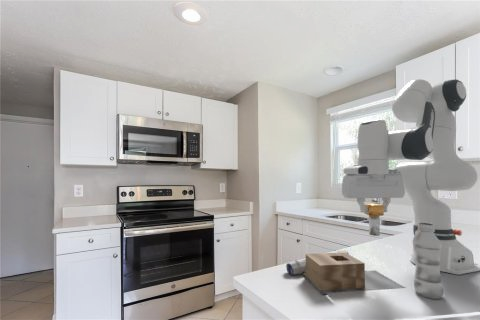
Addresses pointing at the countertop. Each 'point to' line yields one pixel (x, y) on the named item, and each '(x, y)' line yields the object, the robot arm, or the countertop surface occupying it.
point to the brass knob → (374, 218)
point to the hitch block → (343, 274)
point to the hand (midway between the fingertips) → (373, 212)
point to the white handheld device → (301, 265)
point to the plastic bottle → (427, 262)
